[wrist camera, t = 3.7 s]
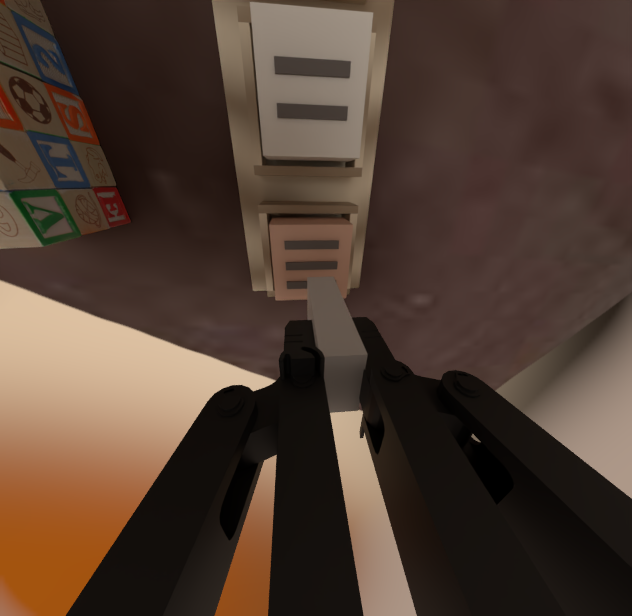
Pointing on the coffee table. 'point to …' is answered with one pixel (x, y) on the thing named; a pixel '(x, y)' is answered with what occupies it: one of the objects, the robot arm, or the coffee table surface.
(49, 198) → the stack of blocks
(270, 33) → the tile
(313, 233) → the tile
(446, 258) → the coffee table surface
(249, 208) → the button board
